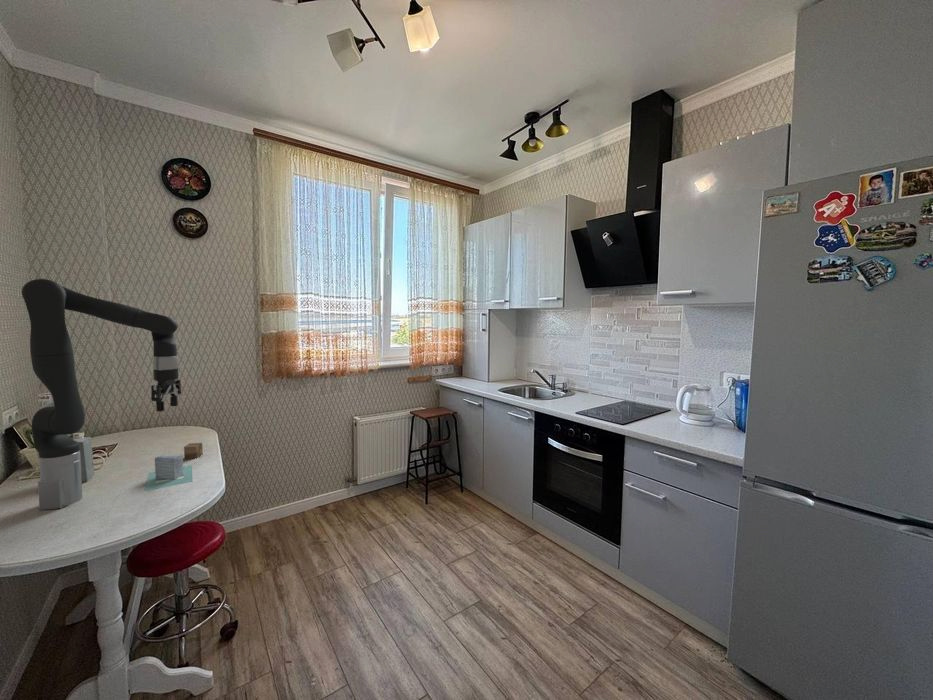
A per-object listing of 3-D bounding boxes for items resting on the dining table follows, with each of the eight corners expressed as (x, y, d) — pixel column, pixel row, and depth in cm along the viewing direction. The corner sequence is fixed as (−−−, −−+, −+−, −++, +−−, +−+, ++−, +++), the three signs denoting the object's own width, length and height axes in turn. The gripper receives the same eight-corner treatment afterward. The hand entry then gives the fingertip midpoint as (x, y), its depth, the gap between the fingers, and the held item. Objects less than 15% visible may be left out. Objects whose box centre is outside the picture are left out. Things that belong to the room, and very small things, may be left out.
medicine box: (183, 475, 146) (183, 454, 146) (174, 479, 142) (173, 458, 141) (164, 474, 147) (164, 453, 146) (155, 479, 142) (154, 457, 142)
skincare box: (87, 482, 139) (85, 441, 138) (61, 485, 136) (58, 444, 135) (95, 473, 147) (93, 435, 146) (70, 477, 143) (68, 438, 142)
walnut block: (196, 459, 164) (196, 446, 164) (184, 459, 163) (184, 446, 163) (202, 455, 169) (202, 442, 169) (190, 455, 168) (190, 443, 168)
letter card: (192, 482, 141) (192, 481, 141) (144, 492, 132) (144, 491, 132) (191, 465, 157) (191, 465, 157) (149, 473, 148) (149, 472, 148)
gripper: (166, 365, 148) (168, 404, 149) (142, 370, 134) (144, 413, 135) (187, 365, 149) (188, 404, 150) (165, 370, 135) (167, 412, 136)
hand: (167, 408), depth 142 cm, fingers open, 8 cm apart
